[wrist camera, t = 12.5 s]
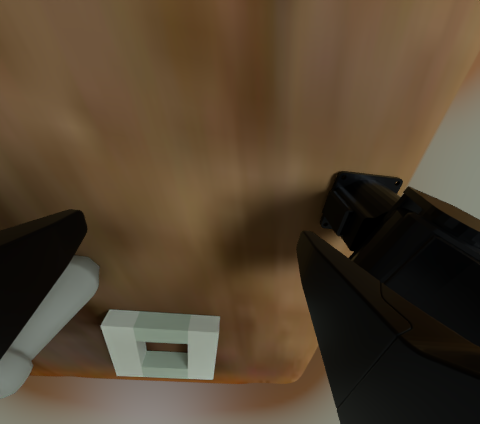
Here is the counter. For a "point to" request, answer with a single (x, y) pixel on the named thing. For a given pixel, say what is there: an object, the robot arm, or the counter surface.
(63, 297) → the grey pestle
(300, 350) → the counter surface
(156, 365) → the square frame holder
